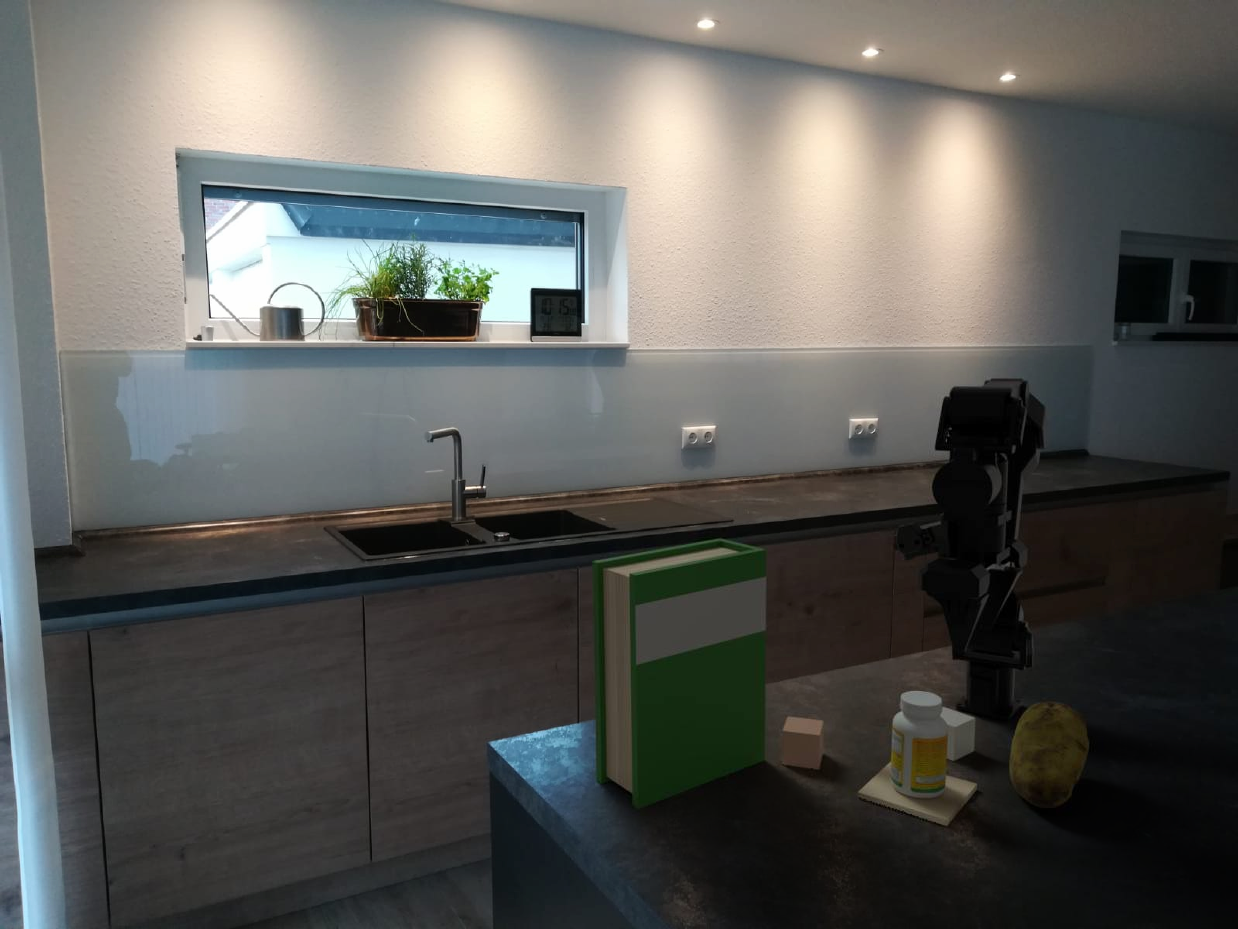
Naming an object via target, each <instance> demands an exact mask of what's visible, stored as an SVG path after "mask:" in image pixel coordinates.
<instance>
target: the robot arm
mask: <svg viewBox="0 0 1238 929" xmlns="http://www.w3.org/2000/svg"><path fill="white" fill-rule="evenodd" d="M1029 382H1030V381H1029V380H1024V379H1023V378H1017V377H1015V378H1014V377H1013V378H1006V377H1005V378H1004V377H1003V378H1002V377H1001V378H996V377H995V378H994V377H993V378H992V377H991V378H990V379H988V380H987V379H986V380H985V381H984V384H983V385H981V386H975V385H974V386H972V385H971V386H969V385H968V386H967V385H966V386H965V385H963V386H961V385H960V386H959V385H958V386H955V385H954V386H953V387H952V388H951V389H950V390H949V392H948V394H949V396H948V395H945V396H944V398H943V399H942V402H941V403H942V404H941V410H940V415H939V420H938V427H937V431H936V432H937V433H936V439H935V444H934V451H937V452H949V460H948V462H946V463H945V464H943V465H941V467H939V469H938V470H937V472H936V473H935V475H934V477H933V480H932V482H931V491H932V496H933V498H934V500H935V502H936V504H937V505H938V507H940V509H942V510H943V512H942V513H941V516H940V521H935V522H931V523H928V524H927V523H926V524H924V525H919V524H918V523H917V521H913V522H911V523H907V524H902V525H899V526H898V527H897V532H896V534H894V536H893V538H894V542H893V545H892V547H893V549H894V550H895V551H899V553H900V555H901V557H902V560H903V562H908V561H913V560H914V558H918V557H922V556H927V555H932V554H934V553H935V554H936V553H937V558H936V559H935V560H932V561H930V562H928V563H927V564H926V565H925V566H923V567H922V568H921V569H919V571H918V589H919V590H921V591H923V593H925V595H926V596H927V597H931V598H932V599H933V600H935V601H936V602H937V603H938V604H939V605H940V608H941V611H942V614H943V616H944V620H945V624H946V626H947V627H946V628H947V631H948V634H949V638H950V641H951V653H952V654H951V656H952V658H951V659H952V660H954V661H965V676H964V677H965V683H964V685H965V686H964V695H963V696H962V697H960V699H958V700H957V702H955V703H954V707H955V709H957V710H961V711H965V712H970V713H974V714H978V715H979V714H980V715H984V716H987V717H990V718H991V717H993V718H997V719H999V720H1000V719H1001V720H1005V721H1008V720H1010V719H1011V718H1012V717H1013V716H1014V715H1015V713H1017V711H1018V710H1019V709H1020V708H1021V707H1022V706H1023V701H1022V699H1021V700H1020V699H1017V698H1014V696H1015V679H1016V677H1015V675H1016V670H1019V671H1023V672H1024V671H1025V670H1026V669H1028V668H1033V666H1034V637H1033V634H1032V632H1031V631H1030V628H1029V625H1028V621H1025V620H1024V614H1025V613H1024V610H1023V608H1022V604H1021V603H1020V600H1019V598H1018V596H1017V594H1016V593H1015V591H1014V586H1015V585H1016V583H1017V581H1018V579H1020V578H1019V577H1020V576H1021V575H1022V573H1023V571H1024V569H1023V567H1025V566H1027V564H1028V547H1027V546H1026V545H1025V544H1024V543H1023V542H1022V540H1020V539H1018V538H1019V533H1020V532H1019V531H1020V530H1019V529H1020V520H1021V510H1022V502H1023V492H1024V485H1025V484H1024V483H1025V482H1026V480H1027V479H1028V478H1029V476H1030V475H1031V474H1032V473H1033V472H1034V471H1035V470H1036V469H1037V468H1038V466H1039V464H1040V458H1041V456H1040V455H1041V450H1046V447H1047V439H1048V423H1047V420H1048V419H1047V408H1046V406H1045V405H1044V404H1043V403H1042V402H1040V400H1039V399H1037V398H1036V396H1034V395H1033V394H1032V392H1031V390H1030V383H1029Z"/></svg>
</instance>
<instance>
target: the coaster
mask: <svg viewBox="0 0 1238 929" xmlns="http://www.w3.org/2000/svg"><path fill="white" fill-rule="evenodd" d="M890 774H891V761H889V763H887V764H886V765H885V766H884V767H883V768H881V770H880V771H879V772H878V773H876V775H875V776H874V777H872V778H871V779H870V780H869V781H868V782H867V783H866V784H865V785H864V786H862V788H860V789H859V790H858V792H857V798H858V797H860V798H862V799H861V800H863V799H866V800H865V801H867V802H870V801H872V802H871V803H873V802H874V803H873V804H876V803H877V805H879V804H881V805H880V806H882V805H883V807H885V806H886V807H885V808H888V807H890V808H889V809H892V808H894V809H893V810H895V809H897V810H896V811H898V810H900V811H899V812H901V811H904V812H906V813H905V814H907V813H908V815H910V814H912V815H911V816H913V815H914V816H915V817H917V816H918V817H917V818H919V819H923V818H924V819H923V820H926V819H927V820H926V821H929V822H933V823H935V822H936V824H940V825H942V826H946V827H948V826H949V824H950V823H951V822H952V820H954V819H955V817H956V815H958V813H959V812H960V811H961V810H962V809H963V807H964V806H965V805H966V803H967V802H968V801H969V800H970V799H971V797H972V796H973V795H974V793H975V792H976V791H977V790H978V783H976V782H972V781H968V780H964V779H961V778H957V777H954V776H951V775H948V774H946V783H945V791H944V792H943V793H942V794H941V795H940V796H938V797H935V798H914V797H910V796H907V795H904V794H902V793H900V792H898V791H897V790H896V789H895V788H894V787H893V786H892V784H891V780H890V777H891V776H890ZM860 798H859V799H860ZM964 804H965V805H964ZM884 805H885V806H884ZM904 812H903V813H904ZM950 821H951V822H950Z"/></svg>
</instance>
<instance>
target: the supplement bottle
mask: <svg viewBox="0 0 1238 929" xmlns="http://www.w3.org/2000/svg"><path fill="white" fill-rule="evenodd" d="M899 707H900V710H901V711H899V712H897V713H896V714H895V715H894V717H893V719H892V727H891V728H892V729H891V752H890V753H891V756H890V762H891V774H890V776H891V777H890V780H891V784H892V786H893V787H894V788H895V789H896V790H897V791H898V792H900V793H902V794H904V795H907V796H910V797H914V798H935V797H938V796H940V795H941V794H942V793H943V792H944V791H945V783H946V775H947V762H948V761H947V760H948V759H947V742H948V726H947V723H946V721H945V720H944V719H943V718H942V717H941V716H940V715H941V713H942V707H943V700H942V698H941V697H940V696H939V695H938V694H935V693H932V692H928V691H922V690H910V691H906V692H903V693H902V694H901V695H900V704H899Z"/></svg>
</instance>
